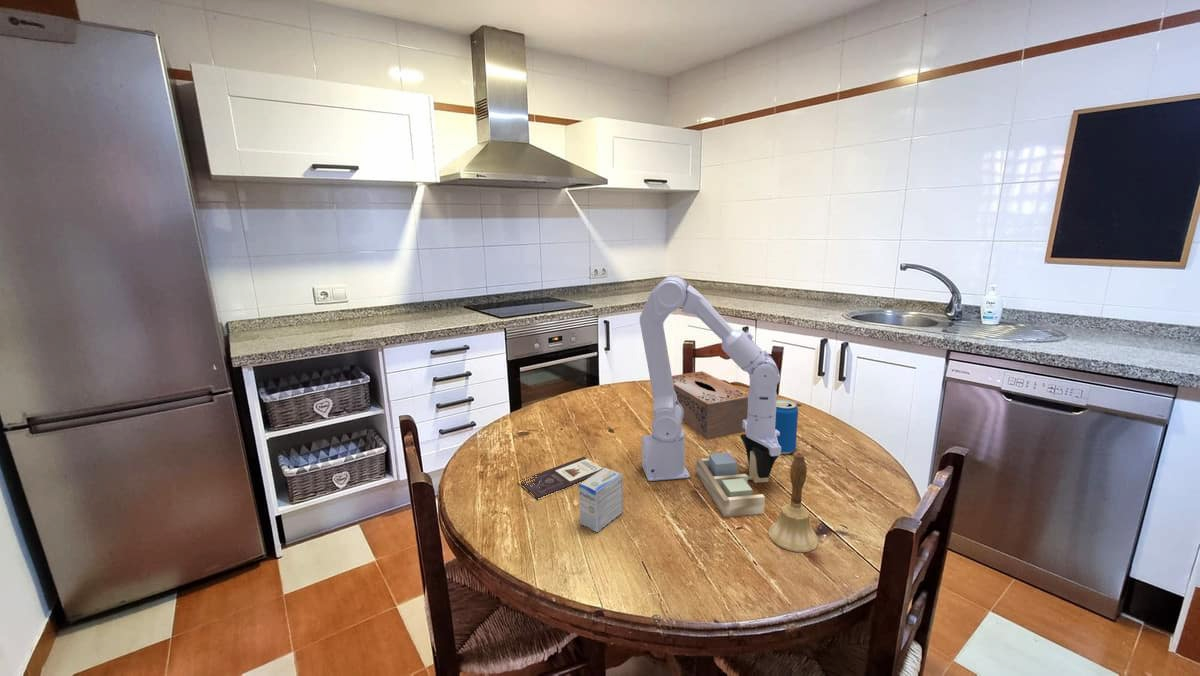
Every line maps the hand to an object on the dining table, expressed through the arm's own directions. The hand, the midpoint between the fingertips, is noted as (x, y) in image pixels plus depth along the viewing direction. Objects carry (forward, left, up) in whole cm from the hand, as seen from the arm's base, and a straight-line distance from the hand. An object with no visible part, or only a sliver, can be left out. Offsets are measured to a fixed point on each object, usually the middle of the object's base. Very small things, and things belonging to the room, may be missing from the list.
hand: (758, 471), depth 103 cm
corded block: (-5, 0, -2) cm, 5 cm away
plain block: (-8, -8, -2) cm, 12 cm away
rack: (-8, -4, -2) cm, 10 cm away
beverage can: (+12, +12, -2) cm, 17 cm away
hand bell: (-3, -20, -2) cm, 20 cm away
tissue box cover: (0, +36, -2) cm, 36 cm away
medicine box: (-36, -10, -2) cm, 37 cm away
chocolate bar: (-43, +8, -2) cm, 43 cm away
